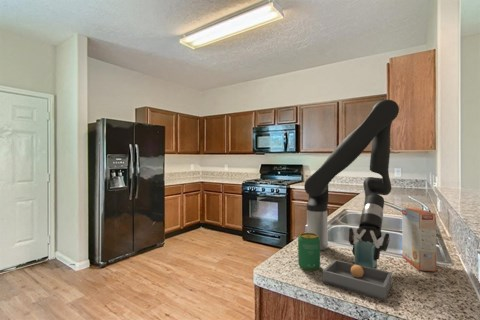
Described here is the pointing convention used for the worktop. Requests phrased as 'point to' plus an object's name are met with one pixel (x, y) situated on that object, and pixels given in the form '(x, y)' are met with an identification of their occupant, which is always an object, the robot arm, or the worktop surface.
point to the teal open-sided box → (365, 254)
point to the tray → (358, 280)
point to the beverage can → (309, 251)
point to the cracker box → (419, 238)
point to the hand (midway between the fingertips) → (364, 257)
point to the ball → (357, 271)
